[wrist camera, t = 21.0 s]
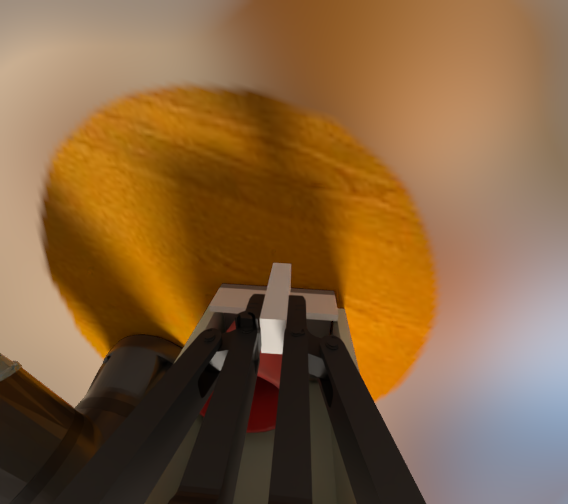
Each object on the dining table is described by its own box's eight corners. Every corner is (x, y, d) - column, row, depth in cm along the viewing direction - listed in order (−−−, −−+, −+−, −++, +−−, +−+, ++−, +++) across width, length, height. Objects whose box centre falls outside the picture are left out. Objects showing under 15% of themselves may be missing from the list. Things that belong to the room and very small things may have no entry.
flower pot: (307, 316, 29) (308, 390, 20) (281, 366, 34) (273, 444, 25) (230, 291, 28) (196, 357, 19) (215, 346, 33) (183, 418, 24)
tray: (232, 358, 35) (222, 385, 31) (222, 283, 29) (208, 305, 25) (323, 366, 34) (325, 395, 30) (334, 290, 28) (338, 315, 24)
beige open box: (223, 366, 36) (137, 596, 18) (212, 299, 30) (63, 543, 12) (332, 376, 35) (362, 637, 16) (344, 308, 29) (413, 603, 10)
